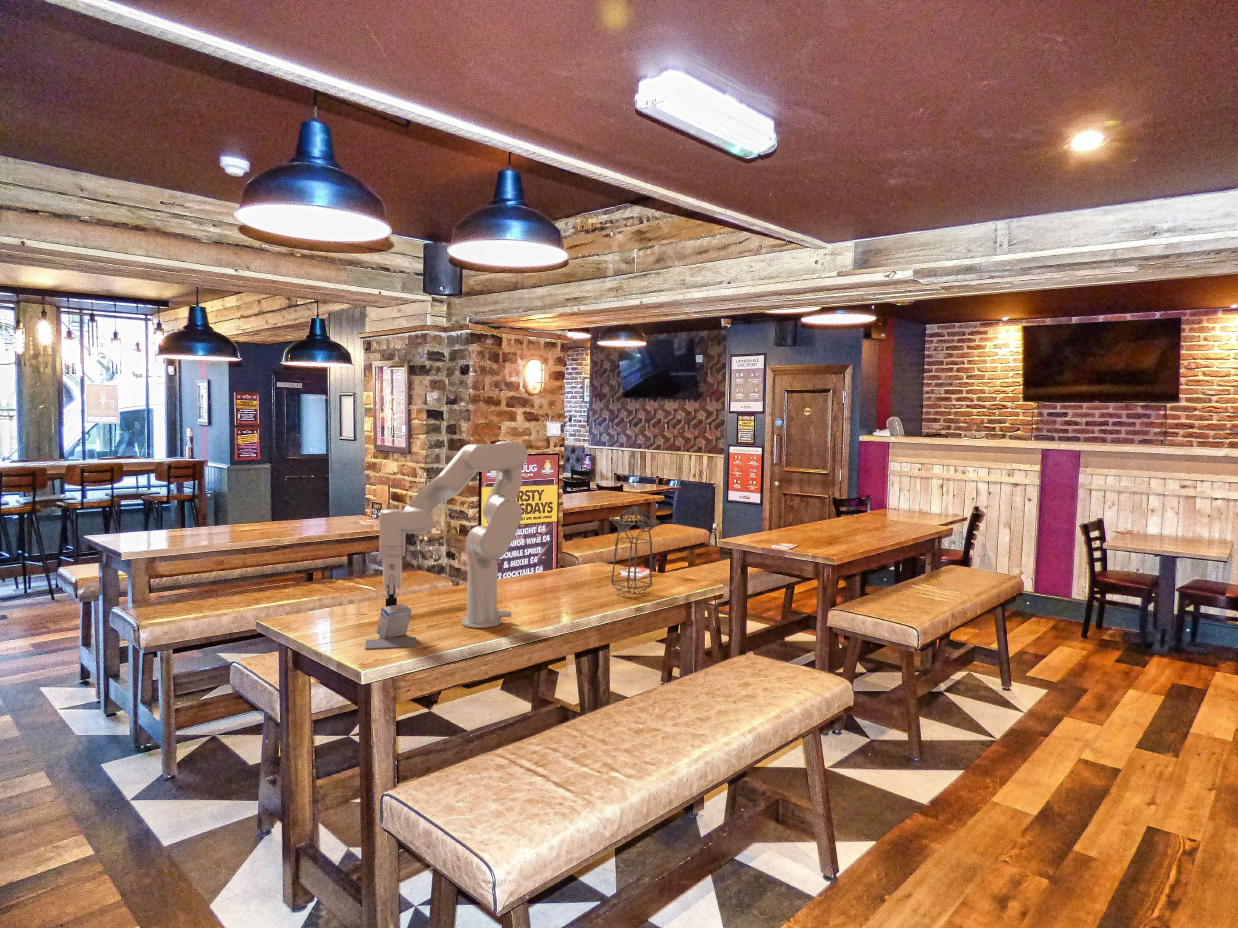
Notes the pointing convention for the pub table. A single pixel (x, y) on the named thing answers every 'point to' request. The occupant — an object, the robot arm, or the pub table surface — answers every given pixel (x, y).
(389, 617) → the medicine box
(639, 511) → the geometric lantern
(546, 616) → the pub table surface
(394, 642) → the charcoal mat
